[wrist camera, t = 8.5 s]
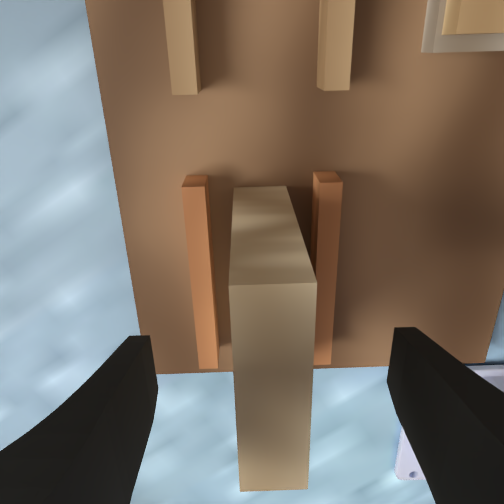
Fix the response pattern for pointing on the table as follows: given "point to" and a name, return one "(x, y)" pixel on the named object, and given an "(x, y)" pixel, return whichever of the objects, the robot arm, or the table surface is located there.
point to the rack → (305, 168)
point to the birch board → (271, 339)
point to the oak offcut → (473, 17)
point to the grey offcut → (454, 43)
